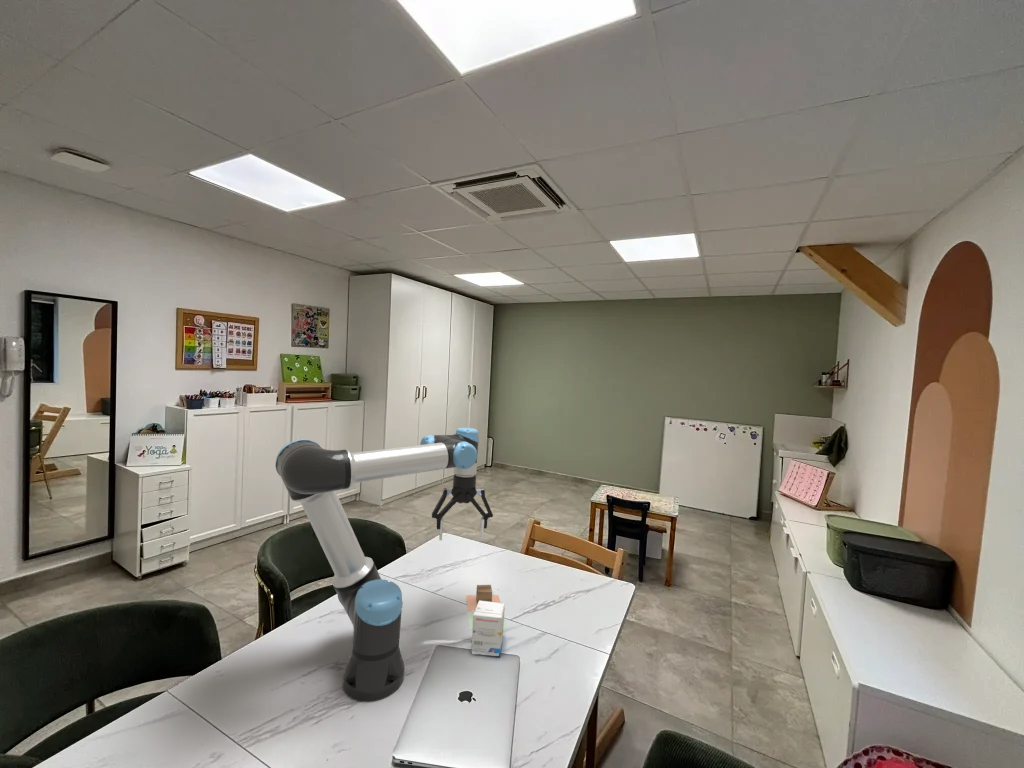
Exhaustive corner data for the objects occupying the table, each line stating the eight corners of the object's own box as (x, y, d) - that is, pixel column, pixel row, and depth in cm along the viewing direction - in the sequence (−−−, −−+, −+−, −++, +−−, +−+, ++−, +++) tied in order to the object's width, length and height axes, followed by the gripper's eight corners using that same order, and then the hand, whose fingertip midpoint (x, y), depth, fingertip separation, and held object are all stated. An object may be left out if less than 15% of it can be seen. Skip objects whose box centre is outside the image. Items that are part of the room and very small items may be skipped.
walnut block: (491, 605, 142) (492, 591, 142) (477, 606, 141) (478, 592, 141) (489, 598, 147) (490, 584, 147) (476, 598, 146) (476, 584, 146)
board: (510, 633, 129) (510, 629, 129) (466, 635, 127) (466, 631, 127) (500, 597, 151) (500, 593, 151) (462, 598, 148) (463, 594, 149)
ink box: (503, 640, 126) (505, 602, 126) (499, 658, 117) (502, 617, 117) (475, 636, 127) (478, 599, 127) (470, 654, 118) (473, 614, 118)
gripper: (499, 472, 142) (495, 533, 142) (426, 471, 136) (422, 534, 136) (503, 477, 134) (499, 541, 134) (427, 476, 129) (423, 543, 129)
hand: (461, 538), depth 135 cm, fingers open, 13 cm apart
